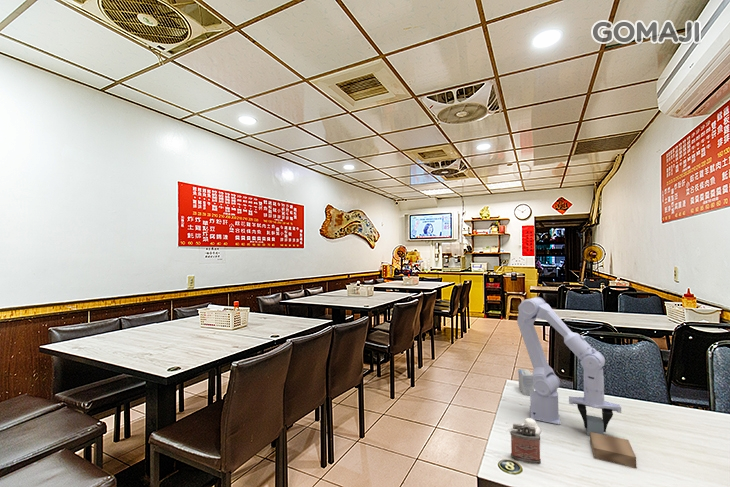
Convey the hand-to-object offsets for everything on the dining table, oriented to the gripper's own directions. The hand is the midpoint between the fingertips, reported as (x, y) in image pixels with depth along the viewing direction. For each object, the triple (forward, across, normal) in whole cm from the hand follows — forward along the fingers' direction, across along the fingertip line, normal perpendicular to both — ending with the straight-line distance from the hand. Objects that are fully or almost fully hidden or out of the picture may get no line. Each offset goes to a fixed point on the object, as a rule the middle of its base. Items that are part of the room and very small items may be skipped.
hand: (594, 429), depth 113 cm
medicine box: (+2, -22, +27) cm, 35 cm away
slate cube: (+2, 0, 0) cm, 2 cm away
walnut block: (+2, +3, -11) cm, 12 cm away
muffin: (+2, -19, -14) cm, 24 cm away
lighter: (+2, -20, -26) cm, 33 cm away
